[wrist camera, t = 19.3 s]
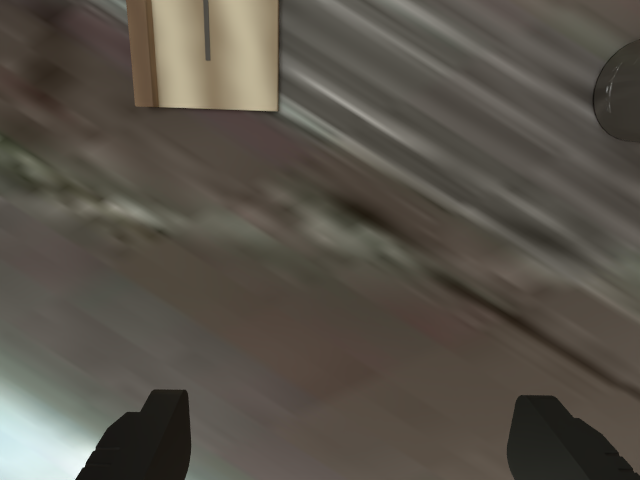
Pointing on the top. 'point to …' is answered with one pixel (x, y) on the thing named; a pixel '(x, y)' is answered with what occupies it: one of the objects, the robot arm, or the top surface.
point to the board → (205, 53)
